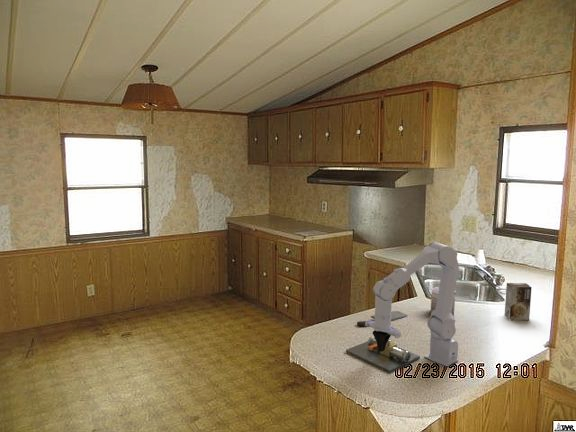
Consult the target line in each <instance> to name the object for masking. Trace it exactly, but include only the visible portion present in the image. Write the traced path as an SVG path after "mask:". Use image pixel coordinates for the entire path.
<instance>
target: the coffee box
mask: <svg viewBox="0 0 576 432" xmlns="http://www.w3.org/2000/svg"><path fill="white" fill-rule="evenodd" d="M531 299H532V286H530V285H529V284H528V283H526V282H506V290H505V301H504V302H505V304H504V316H505V317H506V318H507V319H508V320H509V321H510V320H515V321H519V320H520V321H530V315H531V314H530V313H531V301H532V300H531Z"/></svg>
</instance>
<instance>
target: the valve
mask: <svg viewBox="0 0 576 432" xmlns="http://www.w3.org/2000/svg"><path fill="white" fill-rule="evenodd" d="M376 343H377V342H376V339H375V337H374V336H370V337H369V338H368V340H367V341H365V342H362V343H359V344H357V345H354V346H352V347H349V348H347V349H346V350H345V353H346V352H347V354H348V353H349V355H350V354H351V356H353V357H355V358H356V359H359V360H360V361H362V362H366V363H367V364H369V365H371V366H374V367H376V368H378V369H379V370H382V371H384V372H386V373H387V374H391V373H393V372H396V371H398V370H400V369H402V368H404V367H406V366H408V365H410V364H412V363H414V362H416V361H418V360H420V359H421V356H420V355H418V354H417V353H416V354H415V353H413V352H411V351H408V350H406V349H404V348H401V347H398V344H396V343H394V342H391V343H387V344H386V347H385V350H384V351H382V352H381V351H378V349H375V350H373V351H372V350H369V346H371V345H374V344H376Z"/></svg>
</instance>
